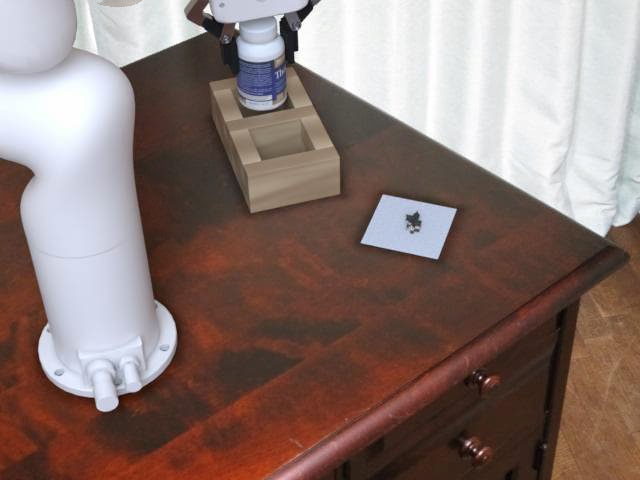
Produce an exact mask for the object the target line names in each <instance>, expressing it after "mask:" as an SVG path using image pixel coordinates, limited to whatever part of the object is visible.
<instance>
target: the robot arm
mask: <svg viewBox="0 0 640 480" xmlns="http://www.w3.org/2000/svg"><path fill="white" fill-rule="evenodd" d="M321 1H322V0H189V2H188V3H187V5H186V6H185V7H184V9H183V13H184V16H185V18H186V19H187V21H189V22H191V23H192V24H194V25H196V26H198V27H201V28H203V29H204V31H206V32H207V33H209V34H210V35H212V36H214V37H215V38H217V39H218V41H219V49H220V58H221V62H222V65H223V66H227V65H228V67H229V69H230V72H231V75H233V76H235V75H236V76H237V74H238V73H239V72H240V71H239V59H238V47H237V42H236V38H235V35H234V32H235V29H236V25H237V24H239V22H244V21H250V20H256V19H261V18H267V17H272V16H274V17H277V16H282V15H283V16H282V17H280V20H279V21H278V24H279V25H278V27H279V35H281V37H282V38H283V40H284V44H285V60H286V64H289V65H293V64H295V63H296V61H295V53H297V52H299V50H300V49H299V30H300V29H302V26H303V25H302V23H303V22H304V21H305V20H306V19H307V17H308V16H309V15H310V14H311V13H312V12H313V10H314V7H315V6H317V5H318V4H319V3H321ZM208 5H209V9H210V12H211V13H208V12H205V11H204V10H205V9H206V8H207V6H208ZM77 31H78V14H77V8H76V3H75V0H0V158H1V159H2V160H5V161H9V162H12V163H16V164H18V165H23V166H25V167H26V168H28V169H29V170H30V171H32V173H33V174H34V175H33V176H32V178H31V179H29V182H28V183H27V185H26V186H25V188H24V190H23V192H22V195H21V197H20V204H19V205H20V206H19V207H20V209H19V210H20V211H19V212H20V219H21V223H22V227H23V232H24V235H25V238H26V241H27V246H28V249H29V253H30V257H31V261H32V265H33V268H34V272H35V276H36V280H37V285H38V289H39V292H40V295H41V300H42V303H43V307H44V311H45V315H46V319H47V322H46V325H44V327H43V329H42V331H41V334H40V337H39V340H38V348H37V352H38V359H39V363H40V365H41V368H42V371H43V372H44V374H45V376H46V377H47V379H48V380H49V381H50V382H51V383H53V384H54V385H55V386H56V387H58V389H59V388H60V389H61V390H63V391H64V392H66V393H69V394H72V395H75V396H79V397H84V398H89V399H90V398H93V399H94V402H95V407H96V409H97V410H98V411H100V412H103V413H107V412H111V411H113V410H115V409H116V408H117V407H118V406H119V396H122V395H125V394H129V393H137V392H139V391H140V390H141V389H142V388H143V387H145V386H146V385H148V384H149V383H151V382H154V381H155V380H156V379H157V378H158V377H159V376H160V375H161V374H162V373H164V371H166V369H167V368H168V367H169V365H170V364H171V362H172V360H173V358H174V356H175V355H176V352H177V351H176V350H177V347H178V332H177V326H176V322H175V320H174V317H173V315H172V314H171V313H170V311H169V310H168V308H167V307H166V306H164V305H163V304H162V303H161V302H160V301H158V300H157V299H155V296H154V291H153V283H152V278H151V272H150V266H149V259H148V254H147V248H146V243H145V242H146V241H145V235H144V230H143V225H142V224H143V223H142V217H141V212H140V206H139V200H138V195H137V188H136V186H137V185H136V179H135V170H134V169H135V168H134V133H135V120H136V100H135V92H134V89H133V86H132V83H131V82H130V80H129V78H128V76H127V75H126V74H125V72H124V71H123V70H122V69H121V68H120V67H119V66H117V65H116V64H115V63H113V62H112V61H111V60H109V59H107V58H106V57H103V56H101V55H99V54H96V53H93V52H91V51H88V50H86V49H81V48H77V47H74V45H75V41H76V39H77Z"/></svg>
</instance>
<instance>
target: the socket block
mask: <svg viewBox="0 0 640 480" xmlns="http://www.w3.org/2000/svg"><path fill="white" fill-rule="evenodd" d="M286 82H287V97H286V100H285V102H284V103H283V104H281V105H280V106H279V107H277V108H275V109H271V110H266V111H257V110H252V109H249V108H247V107H245V106H243V105H242V103H241V102H240V100H239V96H238V86H237V76H236V77H231V78H224V79H220V80H215V81H214V80H213V81H210V82H208V85H209V95H210V105H211V115H212V120H213V123H214V125H215V127H216V130H217V133H218V135H219V138H220V141H221V143H222V145H223V148H224V150H225V153H226V155H227V159H228V160H229V162H230V165H231V167H232V170H233V172H234V175H235V178H236V180H237V182H238V185H239V188H240V190H241V193H242V194H243V198H244V200H245V203H246V205H247V208H248V210H249V213H250V214H253V213H258V212H263V211H268V210H272V209H278V208H282V207H286V206H292V205H296V204H300V203H306V202H311V201H315V200H321V199H324V198H329V197H334V196H339V195H341V157H340V155H339V152H338V151H337V149H336V147H335V145H334V144H333V141H332V140H331V138H330V136H329V134H328V132H327V130H326V128H325V126H324V124H323V122H322V119H320V116H319V115H318V113H317V110H316V108H315V106H314V105H313V103H312V100H311V99H310V97H309V95H308V93H307V91H306V89H305V87H304V86H303V83H302V81H301V79H300V78H299V76H298V74H297V72H296V70H295V68H294V67H293V66H290V67H286Z"/></svg>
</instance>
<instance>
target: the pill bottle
mask: <svg viewBox="0 0 640 480" xmlns="http://www.w3.org/2000/svg"><path fill="white" fill-rule="evenodd" d="M278 30H279V29H278V21H277V18H276V16H272V17H267V18H261V19H256V20H250V21H244V22H238V33H239V35H238V36H237V37H236V38H235V40H236V42H237V47H238V59H239V71H240V72H239V73H238V74H236V77H237V86H238V96H239V100H240V102H241V103H242V105H243V106H245V107H247V108H249V109H252V110H257V111H266V110H271V109H275V108H277V107H279V106H280V105H281V104H283V103H284V102H285V100H286V97H287V82H286V68H287V61H286V59H285V44H284V40H283V38H282V37H281V35H280V33H278Z"/></svg>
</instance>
